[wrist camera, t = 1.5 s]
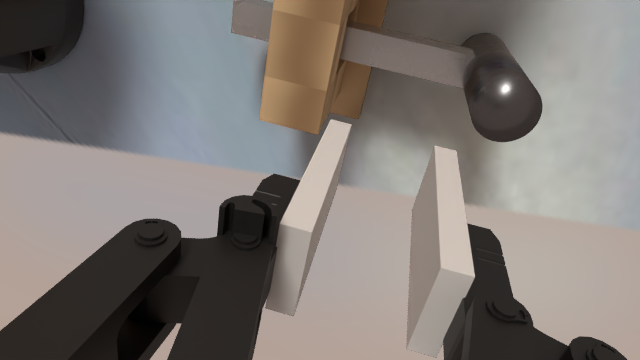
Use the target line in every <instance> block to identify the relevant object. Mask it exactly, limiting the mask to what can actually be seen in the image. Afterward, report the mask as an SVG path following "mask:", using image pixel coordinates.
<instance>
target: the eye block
mask: <svg viewBox="0 0 640 360" xmlns="http://www.w3.org/2000/svg"><path fill="white" fill-rule="evenodd" d="M387 3H388V0H274V4H273V12H272V20H271V28H270V36H269V45H268V53H267V61H266V69H265V77H264V85H263V93H262V101H261V109H260V117H259V120H262V121H266V122H270V123H274V124H278V125H281V126H285V127H289V128H293V129H297V130H301V131H305V132H309V133H313V134H317V135H318V134H319V132H320V130H321V128H322V126H323V124H324V122H325V120H326V118H327V116H328V114H329V112H331V113H335V114H339V115H343V116H347V117H351V118H355V119H359V117H360V113H361V109H362V105H363V101H364V97H365V93H366V89H367V85H368V81H369V77H370V73H371V68H372V66H368V65H364V64H359V63H355V62H351V61H347V60H343V59H339V58H340V53H341V48H342V44H343V39H344V34H345V29H346V24H347V20H350V21H354V22H359V23H363V24H367V25H371V26H376V27H380V28H382V24H383V20H384V16H385V12H386V7H387Z"/></svg>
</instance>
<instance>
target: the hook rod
mask: <svg viewBox="0 0 640 360" xmlns="http://www.w3.org/2000/svg"><path fill="white" fill-rule="evenodd" d="M273 4H274V3H273V2H269V1H264V0H234V4H233V16H232V29H231V33H235V34H239V35H243V36H247V37H251V38H256V39H260V40H264V41H268V42H269V36H270V28H271V20H272V12H273ZM339 59H343V60H347V61H351V62H355V63H359V64H364V65H368V66H372V67H376V68H380V69H384V70H389V71H393V72H397V73H401V74H405V75H409V76H413V77H418V78H422V79H426V80H430V81H434V82H438V83H443V84H447V85H451V86H455V87H459V88H463V89H464V92H465V96H466V100H467V104H468V107H469V111H470V115H471V119H472V123H473V125H474V127H475V129H476V130H477V131H478V132H479V133H480V134H481V135H482V136H483V137H485V138H487V139H489V140H492V141H497V142H509V141H513V140H517V139H519V138H521V137H523V136H525V135H526V134H528V133H529V132H530V131H531V130H532V129H533V128H534V127H535V126H536V124H537V123H538V121H539V119H540V117H541V113H542V100H541V97H540V95H539V93H538V91H537V90H536V88H535V87H534V86H533V84H532V83H531V81H530V80H529V78H528V77H527V76H526V74H525V73H524V71H523V70H522V68H521V67H520V66H519V64H518V63H517V61H516V60H515V59H514V57H513V56H512V54H511V53H510V51H509V50H508V49H507V47H506V46H505V44H504V43H503V42H502V40H501V39H500V38H498V37H497V36H495V35H492V34H488V33H482V34H477V35H474V36H472V37H470V38H469V39H467V40H466V41H465V42H464V43H463V45H462V46H457V45H453V44H449V43H444V42H440V41H436V40H431V39H427V38H423V37H419V36H414V35H410V34H406V33H401V32H397V31H393V30H389V29H384V28H380V27H376V26H371V25H367V24H363V23H359V22H354V21H350V20H347V24H346V29H345V34H344V39H343V44H342V48H341V53H340V58H339Z"/></svg>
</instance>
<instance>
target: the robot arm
mask: <svg viewBox="0 0 640 360" xmlns="http://www.w3.org/2000/svg"><path fill="white" fill-rule="evenodd" d="M83 12H84V6H83V0H0V73H26V72H31V71H35V70H38V69H41V68H44V67H47V66H49V65H52V64H54V63H57V62H58V61H60V60H61V59H63V58H64V57H65V56H66V55H67V54H68V53H69V52H70V51H71V50H72V48H73V47H74V45H75V44H76V42H77V40H78V37H79V35H80V32H81V28H82V23H83ZM351 126H352V124H348V123H344V122H340V121H336V120H332V119H331V120H330V122H329V124H328V126H327V128H326V130H325V132H324V134H323V136H322V138H321V140H320V142H319V144H318V146H317V148H316V151H315V153H314V155H313V157H312V159H311V161H310V163H309V165H308V167H307V169H306V171H305V173H304V175H303V177H302V179H301V181H300V180H296V179H293V178H289V177H285V176H281V175H278V174H273V175H271V176H269V177H267V178H266V179H264V180H262V182H261V183H260V185H259V186H258V188H257V190H256V191H255V193H254V194H253V196H246V195H242V196H235V197H231V198H229V199H227V200H225V201H224V202H223V203H222V204H221V205H220V208H219V221H218V232H217V237H213V238H204V239H195V238H181V231H180V230H179V228H178V227H177V226H176V225H175V224H173V223H171V222H169V221H166V220H161V219H143V220H140V221H136V222H133V223H132V224H130V225H128V226H126V227H125V228H124V229H122V230H121V231H120V232H119V233H118V234H116V235H115V236H114V237H113V238H112V239H111V240H109V241H108V242H107V243H106V244H104V245H103V246H102V247H101V248H100V249H98V250H97V251H96V252H95V253H93V254H92V255H91V256H90V257H89V258H87V259H86V260H85V261H84V262H83V263H81V264H80V265H79V266H78V267H77V268H75V269H74V270H73V271H72V272H71V273H69V274H68V275H67V276H66V277H65V278H64V279H62V280H61V281H60V282H59V283H57V284H56V285H55V286H54V287H53V288H51V289H50V290H49V291H48V292H47V293H45V294H44V295H43V296H42V297H41V298H39V299H38V300H37V301H36V302H35V303H33V304H32V305H31V306H30V307H29V308H27V309H26V310H25V311H24V312H23V313H21V314H20V315H19V316H18V317H17V318H15V319H14V320H13V321H12V322H10V323H9V324H8V325H7V326H6V327H4V328H3V329H2V330H1V331H0V360H150V358H151V357H152V356H153V354H154V353H155V352H156V350H157V349H158V348H159V346H160V345H161V344H162V343H163V341H164V340H165V339H166V337H167V336H168V335H169V333H170V332H171V331H172V329H173V328H174V327H175V325H176V323H182V324H181V327H180V329H179V332H178V334H177V337H176V339H175V341H174V344H173V347H172V349H171V351H170V354H169V357H168V359H167V360H252V358H253V353H254V349H255V344H256V339H257V334H258V330H259V325H260V320H261V314H262V308H263V306H264V304H265V301H266V299H267V301H266V307H265V308H266V309H270V310H273V311H277V312H280V313H283V314H287V315H291V316H294V314H295V311H296V308H297V305H298V302H299V299H300V296H301V293H302V290H303V287H304V284H305V281H306V278H307V275H308V272H309V269H310V266H311V263H312V260H313V257H314V254H315V252H316V248H317V246H318V243H319V240H320V237H321V234H322V231H323V227H324V224H325V222H326V219H327V216H328V213H329V210H330V207H331V204H332V201H333V198H334V195H335V192H336V189H337V185H338V180H339V176H340V172H341V168H342V164H343V159H344V155H345V151H346V147H347V143H348V138H349V134H350V130H351ZM502 255H503V253H502V249H501V245H500V242H499V240H498V239H497V238H496V236H495V235H494V234H493V233H492V231H491V230H490V229H486V228H482V227H478V226H475V225H471V224H467V219H466V212H465V205H464V199H463V192H462V185H461V178H460V172H459V165H458V158H457V151H455V150H451V149H447V148H443V147H439V146H434V149H433V152H432V154H431V157H430V160H429V163H428V166H427V169H426V172H425V174H424V177H423V180H422V183H421V186H420V189H419V192H418V194H417V197H416V200H415V203H414V206H413V209H412V226H411V250H410V274H409V275H410V276H409V298H408V322H407V347H406V349H408V350H411V351H415V352H418V353H421V354H425V355H428V356H432V357H435V358H436V357H437V355H438V353H439V351H440V349H441V347H442V345H444V360H627V359H626V358H625V357H624V356H623V355H622V354H621V353H619V352H618V351H617V350H616V349H615V348H613V347H611V346H610V345H608V344H606V343H604V342H603V341H600V340H597V339H594V338H592V337H578V338H575V339H573V340H572V341H571V343H570V344H569V346H567V345H565V344H563V343H561V342H559V341H557V340H555V339H553V338H551V337H549V336H548V335H546V334H544V333H542V332H541V331H539V330H537V329H536V328H534V327H533V321H532V318H531V315H530V314H529V312H528V311H527V310H526V308H525V307H524V306H523V305H522V304H521V303H519V302H518V301H517V300H515V299H514V298H513V294H512V290H511V286H510V282H509V277H508V273H507V269H506V266H505V261H504V257H503V256H502Z"/></svg>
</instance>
